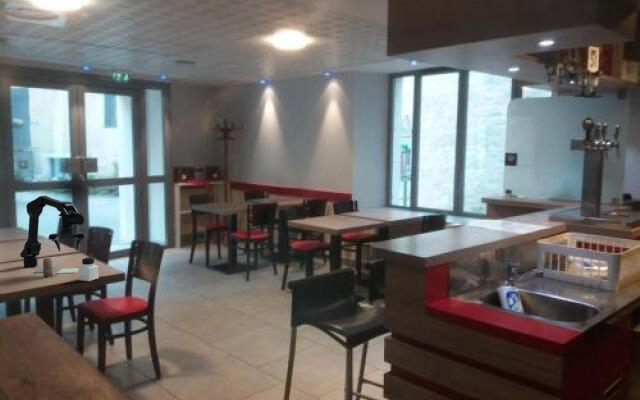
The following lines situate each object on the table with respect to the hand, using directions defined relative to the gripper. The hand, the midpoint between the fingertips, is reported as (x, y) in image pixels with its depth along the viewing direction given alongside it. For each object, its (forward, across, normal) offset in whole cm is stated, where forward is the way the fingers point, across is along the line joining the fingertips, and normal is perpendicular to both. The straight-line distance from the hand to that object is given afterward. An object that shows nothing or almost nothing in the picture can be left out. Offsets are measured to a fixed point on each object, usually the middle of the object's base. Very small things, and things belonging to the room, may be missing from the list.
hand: (68, 250), depth 288 cm
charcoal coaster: (+12, -14, +5) cm, 19 cm away
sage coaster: (+12, 0, 0) cm, 12 cm away
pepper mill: (+12, -8, -10) cm, 18 cm away
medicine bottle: (+12, +14, -21) cm, 29 cm away
